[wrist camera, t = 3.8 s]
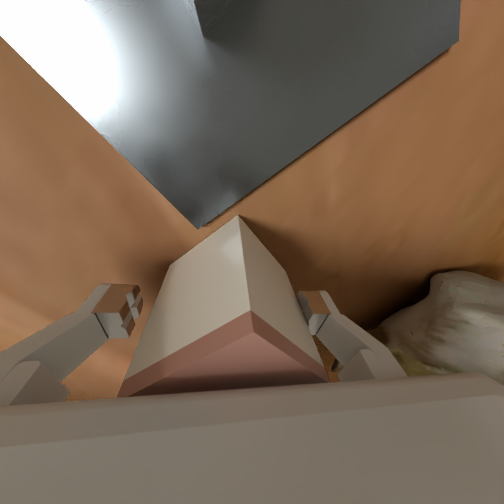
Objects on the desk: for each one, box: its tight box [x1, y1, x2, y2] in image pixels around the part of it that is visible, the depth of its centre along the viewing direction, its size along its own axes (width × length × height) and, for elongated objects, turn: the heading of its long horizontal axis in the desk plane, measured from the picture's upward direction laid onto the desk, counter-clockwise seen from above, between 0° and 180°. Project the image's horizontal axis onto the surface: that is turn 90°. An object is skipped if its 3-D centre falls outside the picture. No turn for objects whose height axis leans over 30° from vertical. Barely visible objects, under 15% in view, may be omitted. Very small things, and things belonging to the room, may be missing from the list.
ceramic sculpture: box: [332, 271, 504, 386], centre depth 14 cm, size 11×9×15 cm
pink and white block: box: [117, 215, 330, 398], centre depth 9 cm, size 5×5×7 cm
